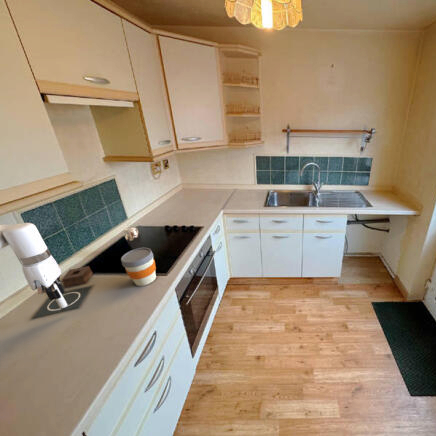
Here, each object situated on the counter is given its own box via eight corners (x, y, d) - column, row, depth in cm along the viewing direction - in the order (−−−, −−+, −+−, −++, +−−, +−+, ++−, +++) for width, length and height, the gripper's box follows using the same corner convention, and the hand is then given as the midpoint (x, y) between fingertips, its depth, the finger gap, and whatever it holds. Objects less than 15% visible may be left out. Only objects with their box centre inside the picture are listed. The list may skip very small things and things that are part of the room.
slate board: (33, 319, 92) (32, 318, 91) (52, 295, 104) (51, 294, 103) (78, 308, 96) (78, 307, 96) (91, 287, 108) (91, 286, 108)
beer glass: (148, 249, 137) (140, 227, 131) (139, 256, 131) (131, 233, 125) (137, 248, 138) (129, 226, 132) (128, 255, 132) (119, 232, 126)
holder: (66, 288, 108) (61, 279, 106) (73, 277, 115) (69, 269, 113) (86, 283, 110) (82, 275, 108) (92, 273, 117) (88, 265, 115)
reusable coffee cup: (165, 273, 116) (158, 249, 110) (146, 290, 105) (136, 264, 99) (145, 270, 119) (136, 246, 113) (124, 286, 108) (113, 260, 102)
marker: (60, 311, 90) (46, 287, 85) (63, 306, 92) (49, 283, 87) (67, 309, 91) (53, 286, 86) (69, 305, 93) (56, 282, 88)
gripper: (35, 247, 87) (56, 285, 94) (5, 272, 73) (32, 314, 81) (60, 243, 89) (78, 280, 97) (35, 267, 75) (59, 308, 83)
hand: (57, 295), depth 89 cm, fingers closed on marker, 2 cm apart
